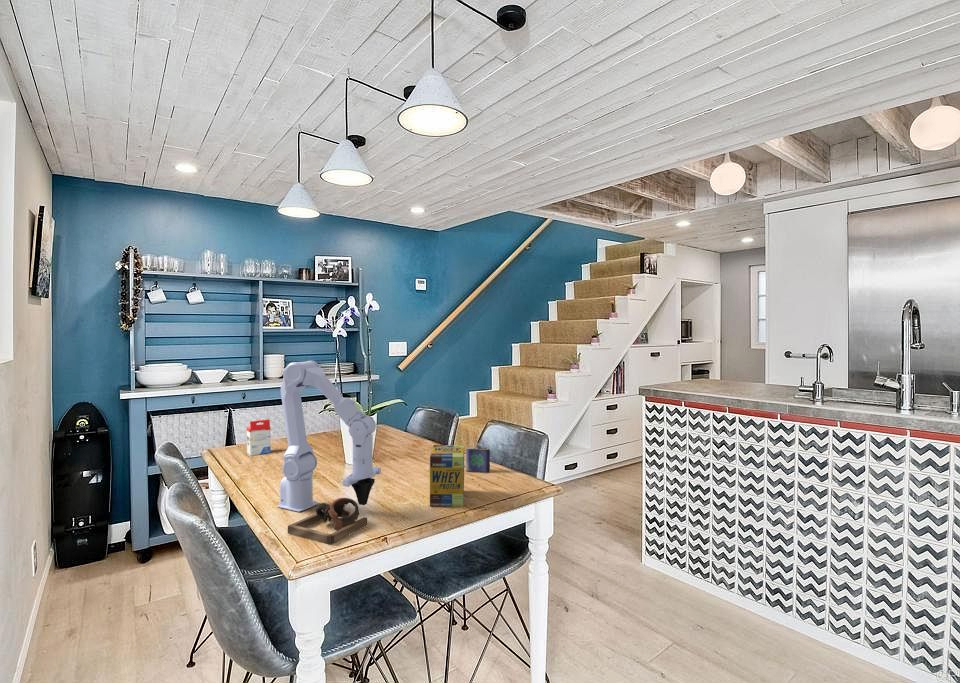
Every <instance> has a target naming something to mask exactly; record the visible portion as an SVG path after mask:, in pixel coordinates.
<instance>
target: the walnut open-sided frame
mask: <svg viewBox="0 0 960 683" xmlns="http://www.w3.org/2000/svg"><path fill="white" fill-rule="evenodd" d="M321 521H323V519H322V518H320V517H319V516H318V515H317V513H316V512H315V513H313V514H312V515H310V516H307V517H305V518H302V519H301V520H298V521H296V522H294V523H291V524H288V525H287V534H289V535H293V536H295V537H300V538H304V539H307V540H311V541H316V542H317V543H322V544H327V545H333V544H335V543H337V542H339V541H340V539H341V540H343V539H344V538H346V537H348V536H350V535H352V534H353V532H354V533H356V532H358V531H359V530H361V529H363V528H365V527H366V525H367V526H368V517H362V518H360V519H357V520H355V522H354V523H352V524H350V525H348V526H346V527H344V528H341V529H340V530H338V531H336V530H335V531H334V532H332V533H328V532H325V531H324V532H323V531H319V530H315V529H310V528H308V527H310V526H312V525H314V524H316V523H318V522H321ZM364 526H365V527H364ZM362 527H363V528H362ZM360 528H361V529H360ZM358 529H359V530H358ZM355 531H356V532H355ZM351 533H352V534H351ZM349 534H350V535H349ZM342 538H343V539H342Z"/></svg>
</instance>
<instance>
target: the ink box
mask: <svg viewBox="0 0 960 683" xmlns="http://www.w3.org/2000/svg"><path fill="white" fill-rule="evenodd" d="M270 422H271V420H270V419H260V420H259V419H258V420H250V421H249V426H247V427H246V453H247V455H249V456H250V457H251V456H257V455H258V456H259V455H264V454H265V455H266V454H271V452H272V451H271V450H272V449H271V445H272V444H271V423H270ZM259 423H260V424H259Z"/></svg>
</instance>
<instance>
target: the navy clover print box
mask: <svg viewBox="0 0 960 683" xmlns="http://www.w3.org/2000/svg"><path fill="white" fill-rule="evenodd" d="M490 458H491V451H490V448H488V447H486V446H481V445H480V442H479V443H476V444H475V447H466V448H465V472H468V473H483V474H484V473H485V474H489V473H490V471H491V469H490V468H491V459H490Z"/></svg>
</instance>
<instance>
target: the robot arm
mask: <svg viewBox="0 0 960 683" xmlns="http://www.w3.org/2000/svg"><path fill="white" fill-rule="evenodd" d="M282 377H283V378H282V382H281V386H280V396H281V402H282V403H281V405H282V410H283V411H282V412H283V419H284V425H285V426H284V427H285V434H286V439H287V440H286V441H287V449H286V451H285V452H284V453H283V464H282V466H281V467H282V469H281V470H282V473H283V475H284V477H282V479H281V481H280V483H279V504H277V505H276V506H277V508H281V509H285V510H290V511H293V512H298V513H300V512H303V511H305V510H308V509H310V508H312V507H315V506H317V505H318V504H320V502H319V501H315V500H314V495H313V494H314V492H313V491H314V487H313V486H314V485H313V484H314V483H313V481H314V477H313V474H314V470H315V469H317V465H318V458H317V456H316V455H315V453H314V450H313V447H312V446H311V445H310V444H309V443H308V440H307V439H308V438H307V432H306V431H307V430H306V424H305V423H306V422H305V418H304V411H303V410H304V409H303V404H302V403H303V402H302V398H301V397H302V396H301V393H302V391H304V390H305V388H306V387H307V386H309V387H315V388H316V389H317V390H318V391H319V392H320V393H321V394H322V395H323V396H325V397H326V399H328V401H330V402H331V403H332V404H333V411H334V413H335V414H336V415H337V416H338V418H339V419H341V420H342V422H344V424H346V426H347V427H348V433H349V436H351V440H352V473H351V474H349V475H347V477H345V478H343V479H342V486H343V487H348V488H349V487H351V488H352V489H353V490H354V493H355V495H356V498H357V502H358V503H357V504H358V505H361V506H366V505H367V504H368V502H369V501H368V500H369V497H370V493H371V490H372V488H373V486H374V484H375V483H376V482H375V477H376V475H381V474H382V468H381V467H379V466H374V465H373V460H374V457H373V452H374V451H373V450H374V448H373V447H374V446H373V444H374V442H373V440H374V439H373V438H374V437H373V436H374V435H373V434H374V432H375V431H376V429H377V428H376V427H377V425H376V421H375V419H374V418H373V417H372V416H371V415H368V414H367V415H366V413H365V411H363V410H361V409H360V408H359V407H358V406H357V404H355V403H356V401H355V400H354V399H353V398H352V399H351V398H350V397H343V395H342V394H341V393H340V391H339V389H337V388H336V386H335V385H334V383H332V381H331V380H330V378H328V376H327V375H326V373H325V371H324V369H323V368H322V367H321V366H320V365H319V364H318V363H317V362H316V361H315V360H307V361H298V362H295V361H293V362H290V363H288V364H287V365H286V367H285V368H284V369H283V370H282ZM373 466H374V467H373Z"/></svg>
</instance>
